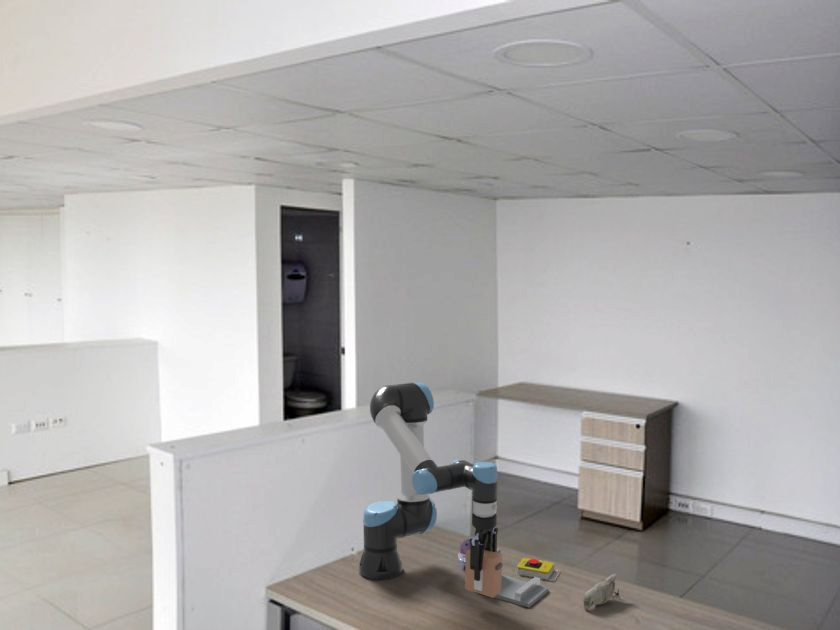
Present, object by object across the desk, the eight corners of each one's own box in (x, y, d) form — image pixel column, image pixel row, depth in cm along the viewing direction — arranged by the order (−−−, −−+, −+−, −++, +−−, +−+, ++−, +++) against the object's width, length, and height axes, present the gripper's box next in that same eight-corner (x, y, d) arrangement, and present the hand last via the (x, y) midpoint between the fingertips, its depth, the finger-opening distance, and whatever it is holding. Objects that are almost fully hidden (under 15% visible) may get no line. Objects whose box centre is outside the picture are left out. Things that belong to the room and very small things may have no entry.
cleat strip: (514, 599, 231) (514, 592, 231) (534, 583, 242) (534, 576, 242) (520, 601, 230) (520, 593, 230) (540, 585, 241) (540, 578, 241)
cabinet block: (465, 588, 228) (465, 551, 227) (473, 583, 232) (474, 546, 231) (495, 598, 222) (496, 560, 221) (503, 592, 226) (504, 554, 225)
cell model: (454, 571, 255) (454, 544, 255) (462, 557, 267) (462, 532, 266) (482, 574, 253) (482, 547, 252) (489, 561, 264) (489, 535, 263)
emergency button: (519, 553, 261) (561, 560, 255) (519, 565, 262) (561, 572, 255) (511, 562, 253) (554, 570, 247) (511, 575, 253) (554, 582, 247)
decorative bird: (578, 608, 228) (578, 585, 227) (607, 593, 238) (608, 571, 238) (592, 615, 224) (593, 591, 223) (622, 599, 234) (622, 576, 234)
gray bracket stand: (473, 591, 240) (474, 561, 239) (494, 576, 251) (495, 547, 250) (529, 607, 228) (529, 576, 227) (548, 591, 239) (548, 561, 239)
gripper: (480, 524, 215) (478, 600, 217) (509, 507, 230) (507, 578, 232) (458, 519, 220) (457, 593, 222) (488, 502, 234) (487, 572, 236)
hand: (483, 586), depth 227 cm, fingers closed on cabinet block, 5 cm apart
